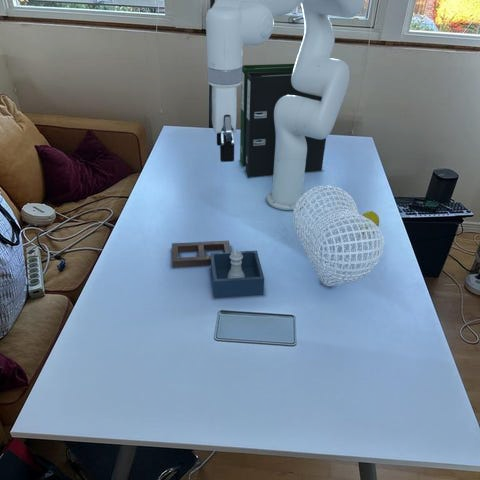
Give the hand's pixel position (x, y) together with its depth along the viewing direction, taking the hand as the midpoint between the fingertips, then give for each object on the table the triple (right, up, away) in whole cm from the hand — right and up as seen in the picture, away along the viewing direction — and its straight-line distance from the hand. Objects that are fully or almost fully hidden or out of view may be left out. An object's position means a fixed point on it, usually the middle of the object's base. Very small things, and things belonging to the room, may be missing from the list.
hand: (225, 152), depth 113 cm
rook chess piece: (+3, -31, +5) cm, 31 cm away
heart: (+26, -31, +5) cm, 41 cm away
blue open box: (+3, -31, +5) cm, 31 cm away
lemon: (+40, -16, +23) cm, 49 cm away
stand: (-7, -23, +13) cm, 28 cm away
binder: (+18, +15, +57) cm, 62 cm away
